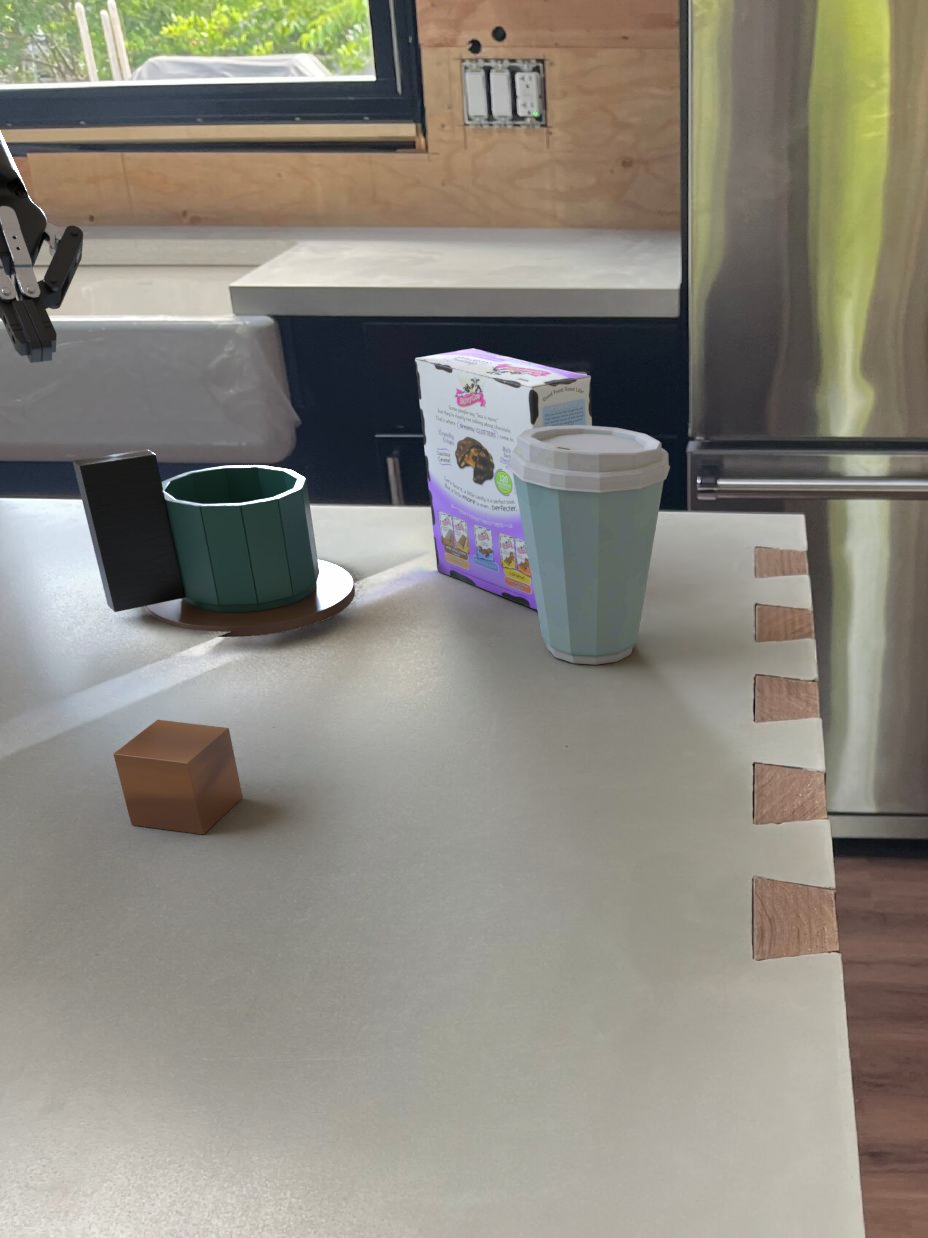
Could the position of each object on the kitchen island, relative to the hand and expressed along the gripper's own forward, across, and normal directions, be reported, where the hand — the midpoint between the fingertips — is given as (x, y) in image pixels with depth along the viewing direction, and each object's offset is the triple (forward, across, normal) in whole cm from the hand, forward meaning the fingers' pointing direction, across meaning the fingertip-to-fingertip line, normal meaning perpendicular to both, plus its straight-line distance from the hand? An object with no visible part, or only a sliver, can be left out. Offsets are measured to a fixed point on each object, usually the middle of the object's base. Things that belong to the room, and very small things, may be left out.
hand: (42, 354), depth 96 cm
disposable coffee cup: (+37, +24, -13) cm, 46 cm away
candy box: (+26, +26, -3) cm, 37 cm away
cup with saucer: (+21, +6, +1) cm, 22 cm away
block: (+41, -8, -18) cm, 45 cm away
